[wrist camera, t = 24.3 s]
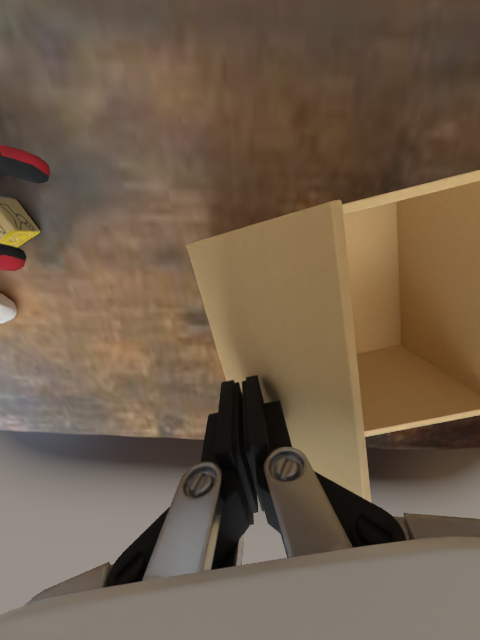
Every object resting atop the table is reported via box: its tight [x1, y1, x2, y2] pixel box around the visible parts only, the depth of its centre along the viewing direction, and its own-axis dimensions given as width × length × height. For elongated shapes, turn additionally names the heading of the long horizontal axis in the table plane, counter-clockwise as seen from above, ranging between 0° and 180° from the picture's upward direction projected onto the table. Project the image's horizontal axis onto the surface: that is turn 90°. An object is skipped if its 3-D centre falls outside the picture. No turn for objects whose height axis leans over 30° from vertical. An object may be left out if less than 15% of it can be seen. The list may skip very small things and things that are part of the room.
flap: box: [186, 200, 371, 502], centre depth 11 cm, size 8×15×1 cm
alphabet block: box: [0, 196, 41, 248], centre depth 21 cm, size 3×3×3 cm
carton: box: [192, 170, 480, 437], centre depth 16 cm, size 18×15×19 cm
